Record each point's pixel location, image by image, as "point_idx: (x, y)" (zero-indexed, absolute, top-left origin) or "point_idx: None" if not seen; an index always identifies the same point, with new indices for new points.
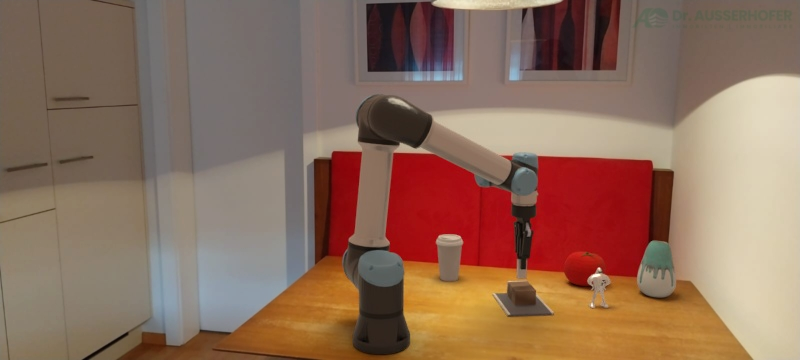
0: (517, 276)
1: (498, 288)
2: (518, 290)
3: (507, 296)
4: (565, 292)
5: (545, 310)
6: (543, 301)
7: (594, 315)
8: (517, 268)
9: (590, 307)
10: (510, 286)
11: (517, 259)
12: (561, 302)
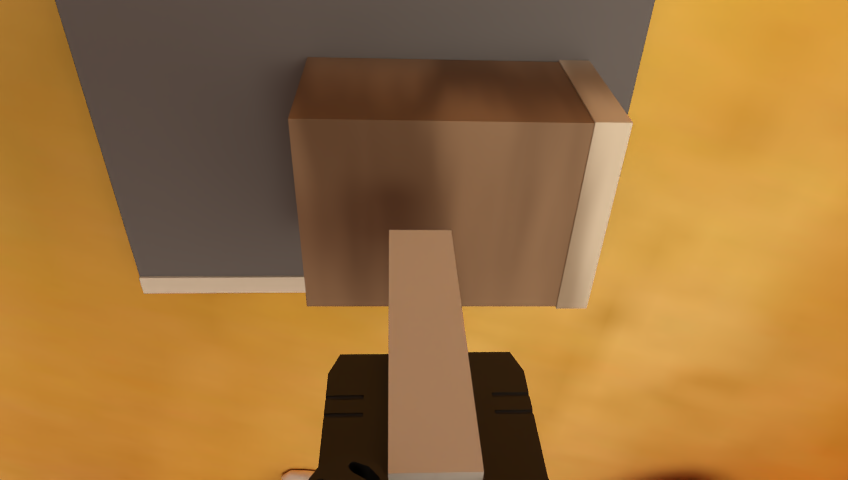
0: (413, 246)
1: (824, 39)
2: (310, 156)
3: (546, 54)
4: (555, 434)
5: (191, 254)
6: None
7: (174, 455)
8: (431, 321)
9: (291, 470)
10: (493, 114)
11: (461, 440)
12: None
